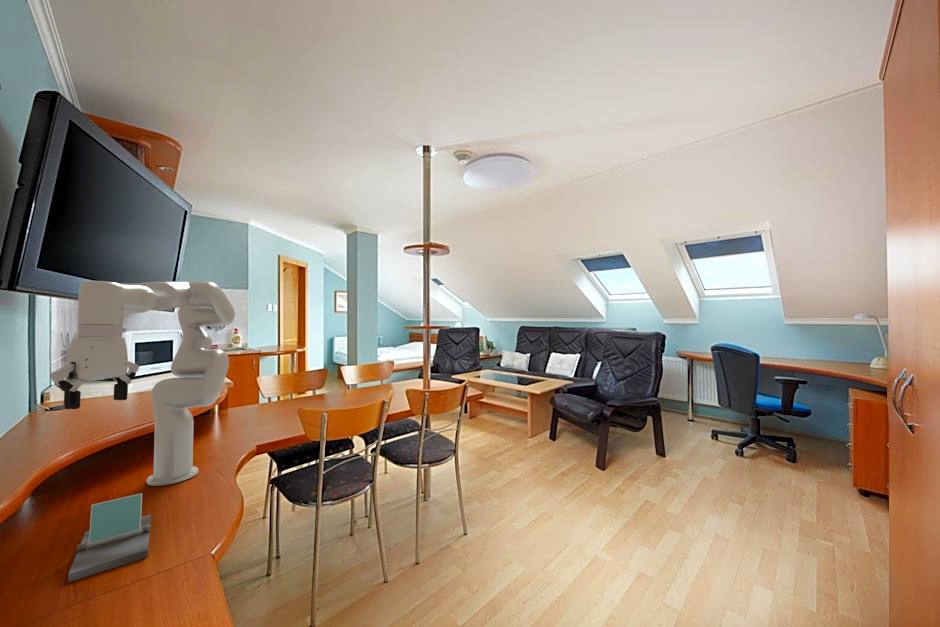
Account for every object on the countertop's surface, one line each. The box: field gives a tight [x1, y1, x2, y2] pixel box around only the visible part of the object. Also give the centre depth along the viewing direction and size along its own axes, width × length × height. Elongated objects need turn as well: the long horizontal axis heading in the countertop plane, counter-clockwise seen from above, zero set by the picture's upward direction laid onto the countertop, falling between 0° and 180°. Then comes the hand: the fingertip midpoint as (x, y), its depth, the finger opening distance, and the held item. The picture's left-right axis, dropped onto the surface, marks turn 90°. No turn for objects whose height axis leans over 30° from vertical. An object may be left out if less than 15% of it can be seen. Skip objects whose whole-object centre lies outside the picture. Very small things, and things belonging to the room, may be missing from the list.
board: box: [67, 514, 152, 583], centre depth 76 cm, size 18×11×3 cm, turn 41°
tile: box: [88, 492, 143, 544], centre depth 77 cm, size 8×8×1 cm
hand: (97, 404), depth 83 cm, fingers open, 9 cm apart
